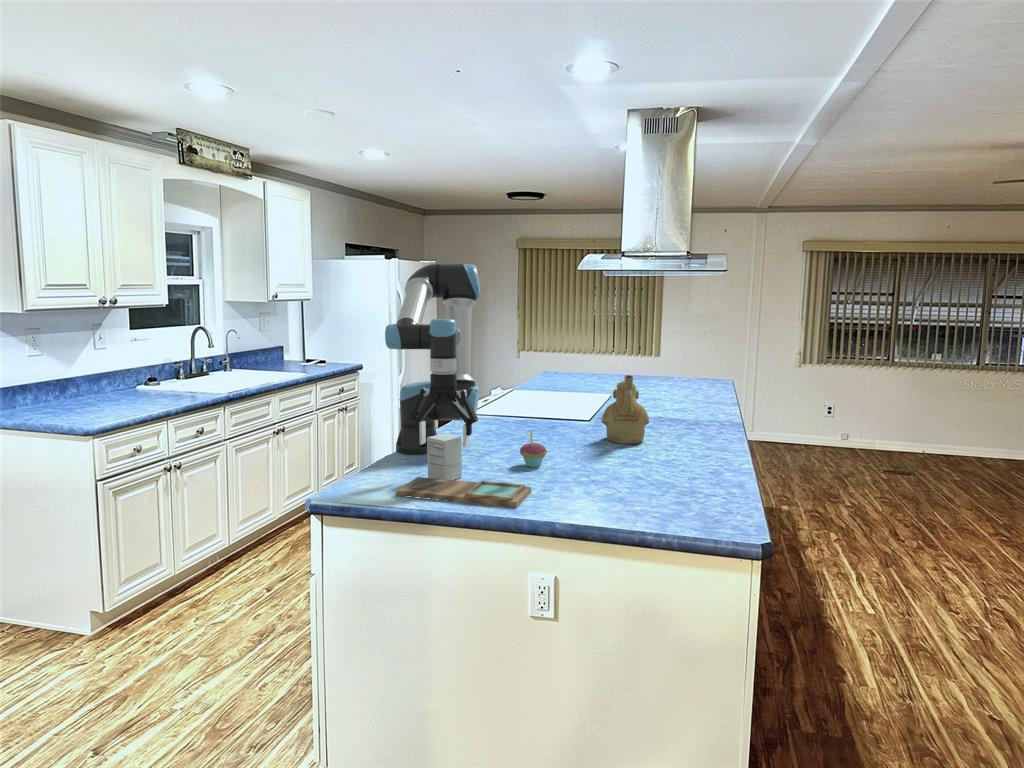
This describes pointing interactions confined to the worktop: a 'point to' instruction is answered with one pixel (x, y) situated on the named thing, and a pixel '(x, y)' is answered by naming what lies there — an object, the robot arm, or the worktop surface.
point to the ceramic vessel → (625, 415)
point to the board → (467, 491)
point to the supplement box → (444, 457)
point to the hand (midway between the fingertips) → (444, 445)
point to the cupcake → (533, 453)
